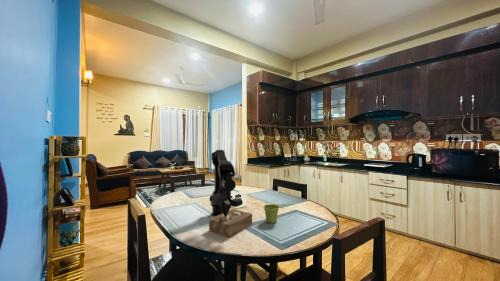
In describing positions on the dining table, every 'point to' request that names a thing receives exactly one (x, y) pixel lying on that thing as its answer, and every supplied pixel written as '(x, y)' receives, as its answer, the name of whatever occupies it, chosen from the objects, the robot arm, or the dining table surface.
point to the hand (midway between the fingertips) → (225, 216)
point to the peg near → (225, 218)
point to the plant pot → (271, 212)
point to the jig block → (230, 223)
